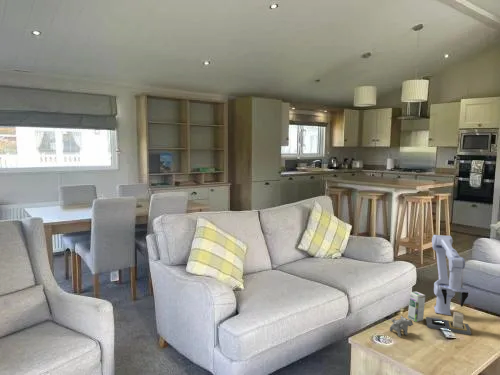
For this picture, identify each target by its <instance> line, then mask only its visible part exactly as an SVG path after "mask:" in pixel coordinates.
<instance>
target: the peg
mask: <svg viewBox="0 0 500 375" xmlns="http://www.w3.org/2000/svg"><path fill="white" fill-rule="evenodd" d="M452 318H453V319H452V321H453V326H452V325H451V326H452V327H454V328H460V329H463V323H464V314H463V312H462V313H461V312H457V311H453V315H452Z"/></svg>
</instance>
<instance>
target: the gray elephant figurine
mask: <svg viewBox="0 0 500 375" xmlns="http://www.w3.org/2000/svg"><path fill="white" fill-rule="evenodd" d="M391 323H392V324H391V325H390V327H389V332H392V331H395V332H397V337H398V338H401V337H402V334H401V331H402V332H403V333H404V336H408V334H409V333H408V328H409V327H412V326H414V323H413V320H411V319H407V318H406V317H404V316H402V315H400V318H399V319H395V318H393V319H391Z"/></svg>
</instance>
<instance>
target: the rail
mask: <svg viewBox="0 0 500 375" xmlns="http://www.w3.org/2000/svg"><path fill="white" fill-rule="evenodd" d="M434 321H442V322H444V324H445V326H444V324H443V325H442V324H441V325H440V324H436V323H435V322H434ZM425 322H426V327H427V328H428V329H434V330H439V329H440V328H447V329H449V330H451V331H453V332H452V333H456V334H462V335H466V336H467V335H468V336H472V331H471V328H470V325H469V324H468V323H466V322H465V323H464V322H463V327H462V329H460V328H454V327H452V326H453V320H446V319H440V318H435V317H429V316H426V317H425Z"/></svg>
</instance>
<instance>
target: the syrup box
mask: <svg viewBox="0 0 500 375" xmlns="http://www.w3.org/2000/svg"><path fill="white" fill-rule="evenodd" d="M425 303H426V294H423V293H421V292H418V291H412V292H409V301H408V311H407V312H408V313H407V318H408V320H412V322H416V323H417V322H422V321H424V314H425V313H424V312H425Z"/></svg>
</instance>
